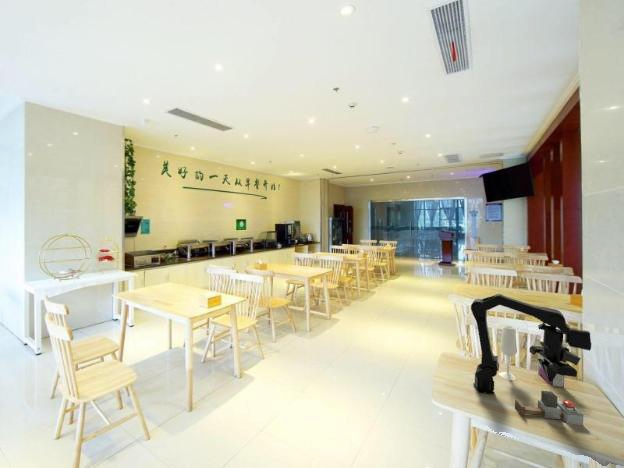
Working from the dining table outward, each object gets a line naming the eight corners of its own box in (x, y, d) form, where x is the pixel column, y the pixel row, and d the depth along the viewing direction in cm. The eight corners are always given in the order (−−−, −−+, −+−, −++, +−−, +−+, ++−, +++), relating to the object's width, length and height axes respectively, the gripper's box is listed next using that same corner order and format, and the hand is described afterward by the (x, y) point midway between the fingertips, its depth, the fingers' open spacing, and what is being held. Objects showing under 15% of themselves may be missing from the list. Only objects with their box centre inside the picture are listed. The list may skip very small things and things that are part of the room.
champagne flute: (517, 381, 129) (519, 330, 128) (500, 378, 132) (502, 328, 131) (514, 374, 135) (516, 325, 134) (498, 371, 138) (499, 323, 137)
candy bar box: (537, 373, 136) (538, 340, 135) (548, 374, 135) (550, 341, 134) (551, 386, 125) (553, 350, 124) (564, 388, 124) (566, 351, 123)
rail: (521, 415, 106) (521, 406, 105) (514, 408, 110) (515, 399, 110) (564, 420, 103) (565, 411, 103) (556, 412, 107) (557, 404, 107)
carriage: (544, 417, 104) (545, 396, 104) (537, 409, 108) (538, 389, 108) (560, 419, 103) (560, 398, 103) (552, 411, 108) (552, 390, 107)
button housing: (567, 423, 102) (567, 412, 102) (554, 410, 109) (554, 400, 108) (583, 425, 101) (583, 414, 101) (569, 412, 108) (569, 402, 107)
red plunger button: (566, 419, 103) (566, 405, 103) (559, 412, 107) (560, 399, 107) (577, 420, 103) (577, 406, 102) (570, 413, 106) (570, 400, 106)
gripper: (596, 356, 97) (593, 399, 98) (560, 334, 116) (557, 371, 116) (560, 352, 99) (556, 394, 100) (530, 332, 118) (527, 367, 118)
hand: (549, 381), depth 109 cm, fingers closed
